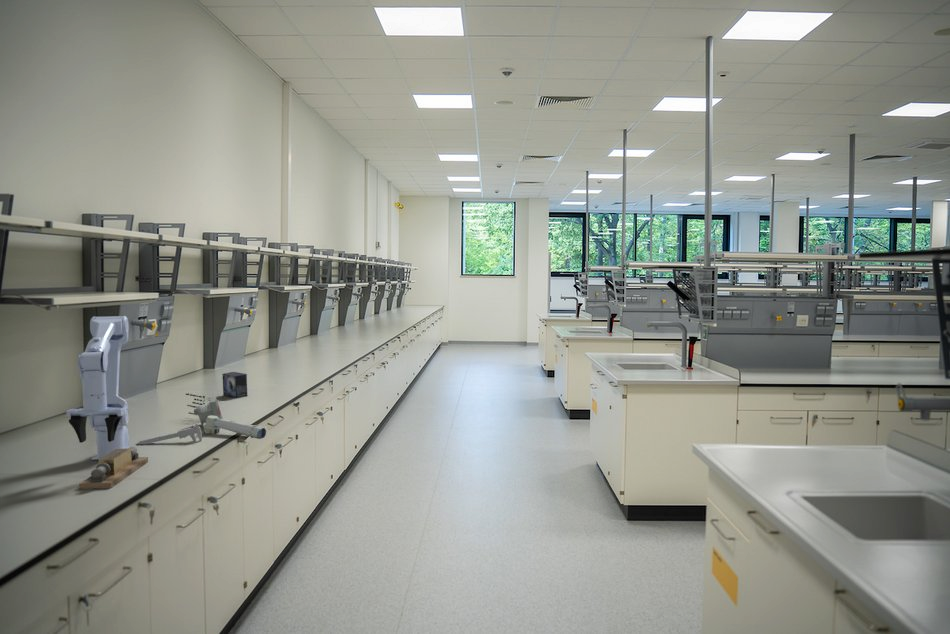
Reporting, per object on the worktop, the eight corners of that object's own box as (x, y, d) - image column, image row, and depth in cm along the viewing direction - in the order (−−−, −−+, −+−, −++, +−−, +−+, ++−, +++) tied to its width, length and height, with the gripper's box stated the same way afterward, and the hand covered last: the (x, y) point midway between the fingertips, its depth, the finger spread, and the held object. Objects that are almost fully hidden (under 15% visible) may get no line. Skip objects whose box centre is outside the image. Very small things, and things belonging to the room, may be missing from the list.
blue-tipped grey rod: (257, 429, 205) (200, 413, 213) (256, 448, 206) (199, 431, 214) (268, 425, 210) (211, 410, 218) (266, 444, 211) (210, 428, 219)
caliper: (202, 441, 205) (201, 423, 205) (201, 442, 204) (200, 423, 204) (136, 444, 201) (135, 426, 201) (135, 445, 200) (134, 427, 200)
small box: (222, 395, 279) (221, 373, 278) (234, 393, 284) (234, 371, 283) (235, 398, 273) (234, 375, 272) (248, 396, 278) (247, 373, 277)
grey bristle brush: (235, 424, 227) (234, 398, 226) (207, 431, 218) (206, 404, 217) (193, 415, 242) (192, 390, 241) (166, 421, 232) (165, 395, 231)
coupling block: (117, 463, 176) (116, 448, 175) (131, 463, 176) (131, 448, 176) (99, 475, 166) (98, 459, 165) (114, 475, 166) (113, 459, 166)
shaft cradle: (120, 462, 181) (119, 444, 181) (148, 461, 182) (147, 443, 182) (79, 489, 160) (78, 468, 159) (111, 488, 160) (110, 467, 160)
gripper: (59, 397, 166) (61, 446, 167) (114, 396, 167) (117, 444, 168) (73, 392, 173) (75, 438, 174) (126, 391, 174) (128, 437, 175)
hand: (97, 441), depth 171 cm, fingers open, 7 cm apart
